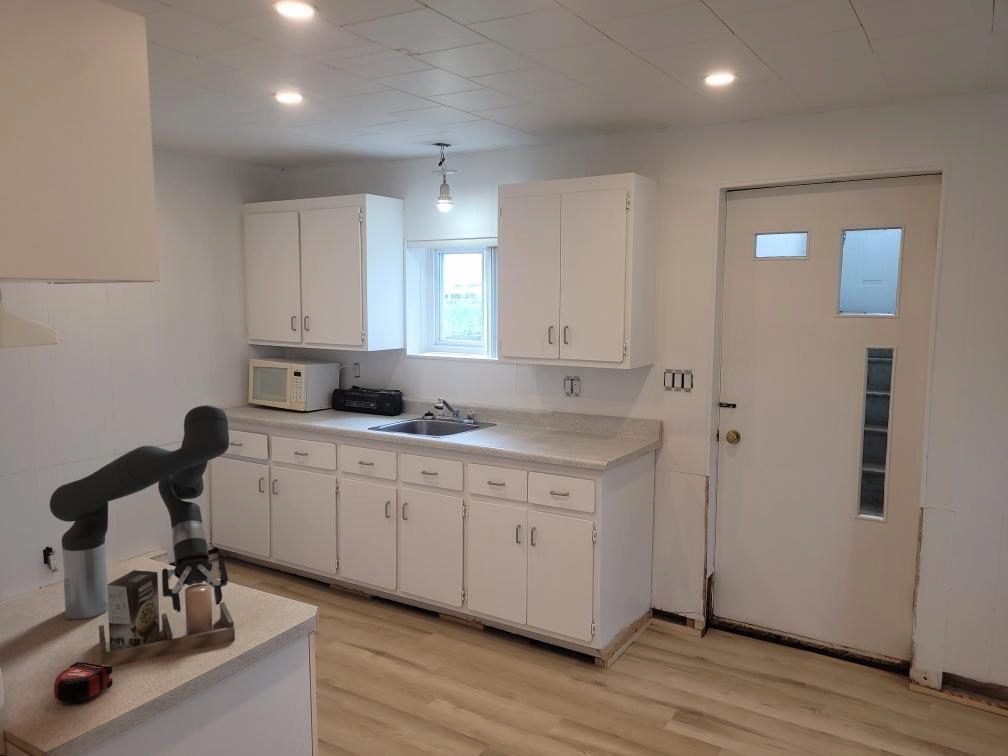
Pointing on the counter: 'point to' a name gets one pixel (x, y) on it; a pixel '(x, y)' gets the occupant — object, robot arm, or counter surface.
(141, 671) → the counter surface
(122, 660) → the wooden rack
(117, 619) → the coffee box
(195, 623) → the pink rounded cylinder
